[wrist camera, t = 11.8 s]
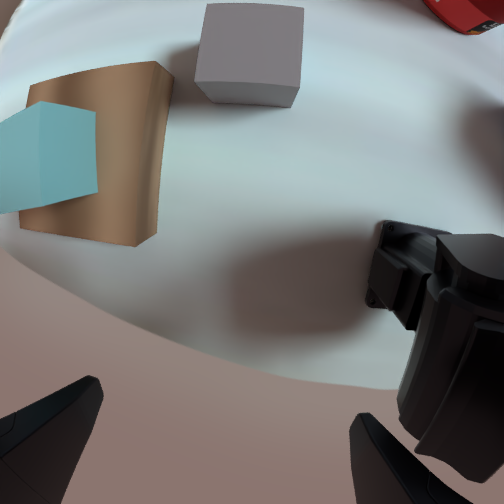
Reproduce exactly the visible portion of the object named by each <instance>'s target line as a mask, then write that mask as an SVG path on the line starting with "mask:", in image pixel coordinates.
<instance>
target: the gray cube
mask: <svg viewBox="0 0 504 504" xmlns="http://www.w3.org/2000/svg"><path fill="white" fill-rule="evenodd" d="M303 24H304V8H301V7H293V6H284V5H273V4H257V3H214V4H207V7H206V12H205V17H204V22H203V27H202V33H201V39H200V45H199V51H198V58H197V64H196V71H195V79H194V82H195V83H196V84H197V85H198V87H199V88H200V89H201V90H202V91H203V92H204V93H205V94H206V96H207V97H208V98H209V99H210V100H211V101H212V102H213V103H237V104H254V105H267V106H277V107H287V108H291V106H292V104H293V102H294V100H295V97H296V95H297V93H298V90H299V88H300V78H301V62H302V44H303Z"/></svg>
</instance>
